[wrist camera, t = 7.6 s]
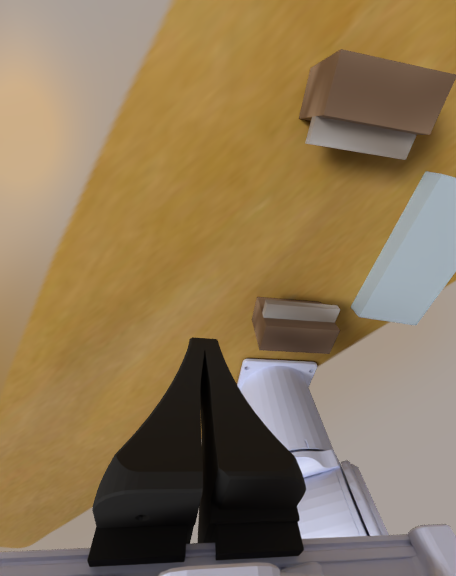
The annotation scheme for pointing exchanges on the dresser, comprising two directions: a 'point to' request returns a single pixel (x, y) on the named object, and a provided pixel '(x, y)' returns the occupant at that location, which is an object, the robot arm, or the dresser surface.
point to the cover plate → (414, 256)
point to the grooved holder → (359, 138)
